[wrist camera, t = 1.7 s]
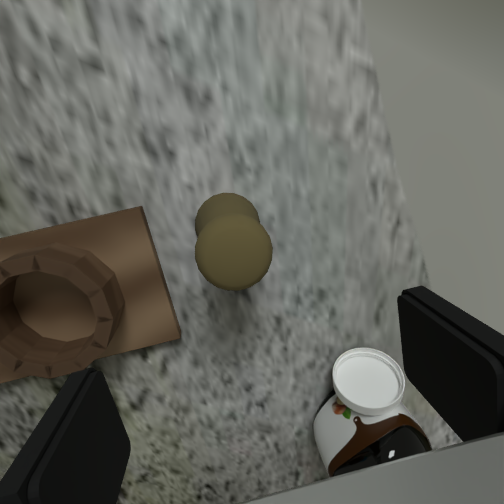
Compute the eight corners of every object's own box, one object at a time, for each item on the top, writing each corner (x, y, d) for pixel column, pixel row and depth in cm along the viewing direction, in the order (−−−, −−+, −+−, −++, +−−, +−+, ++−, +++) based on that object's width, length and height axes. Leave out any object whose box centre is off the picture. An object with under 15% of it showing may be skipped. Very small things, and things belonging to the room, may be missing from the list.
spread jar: (332, 451, 41) (378, 563, 30) (278, 391, 37) (307, 491, 26) (416, 394, 40) (496, 487, 29) (368, 327, 37) (437, 402, 25)
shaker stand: (-64, 252, 30) (-117, 271, 25) (142, 205, 30) (129, 215, 26) (0, 377, 33) (-36, 414, 28) (181, 332, 34) (176, 360, 29)
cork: (200, 260, 32) (194, 310, 22) (189, 196, 31) (178, 218, 20) (262, 251, 33) (287, 296, 22) (256, 188, 31) (279, 205, 21)
